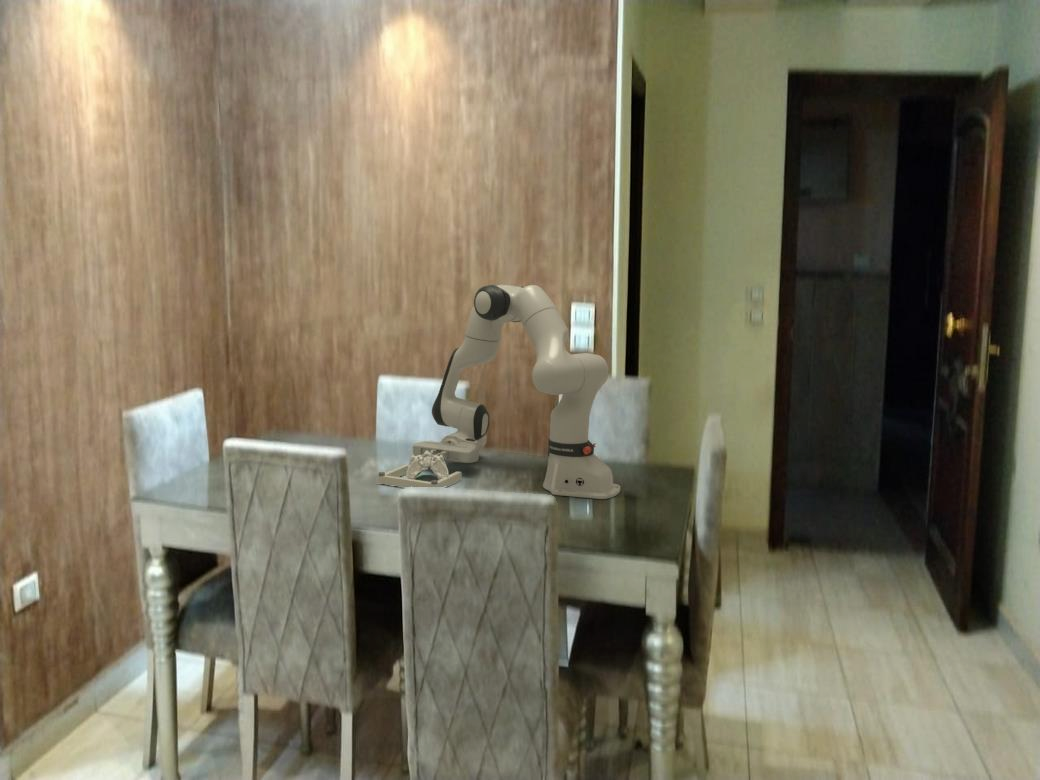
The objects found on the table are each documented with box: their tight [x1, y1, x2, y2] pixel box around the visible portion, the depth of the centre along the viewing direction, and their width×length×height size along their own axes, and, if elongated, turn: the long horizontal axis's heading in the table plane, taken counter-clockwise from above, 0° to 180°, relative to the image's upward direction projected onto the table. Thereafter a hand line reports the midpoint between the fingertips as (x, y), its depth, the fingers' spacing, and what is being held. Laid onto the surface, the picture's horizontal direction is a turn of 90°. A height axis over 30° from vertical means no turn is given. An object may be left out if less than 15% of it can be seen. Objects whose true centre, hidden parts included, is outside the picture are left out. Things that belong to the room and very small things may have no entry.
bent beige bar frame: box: [377, 463, 462, 489], centre depth 265 cm, size 19×16×3 cm
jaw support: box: [406, 451, 449, 480], centre depth 268 cm, size 12×9×10 cm
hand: (432, 457), depth 270 cm, fingers closed
